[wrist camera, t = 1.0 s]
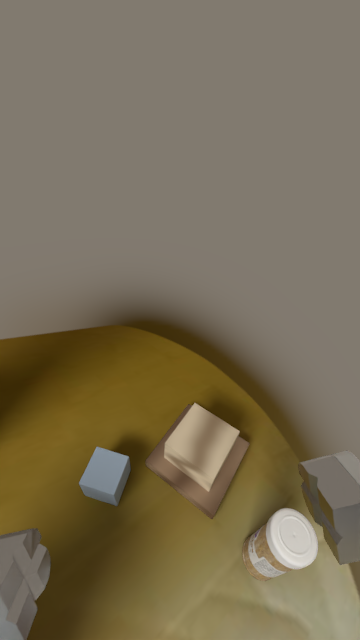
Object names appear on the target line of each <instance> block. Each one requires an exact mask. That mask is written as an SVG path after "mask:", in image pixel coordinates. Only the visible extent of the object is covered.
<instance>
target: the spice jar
mask: <svg viewBox="0 0 360 640" xmlns="http://www.w3.org/2000/svg"><path fill="white" fill-rule="evenodd" d="M317 551H318V541H317V537H316V533H315V531H314V529H313V527H312V525H311V523H310V522H309V521H308V520H307V518H306V517H305V516H304V515H302V514H301V513H300V512H298V511H296V510H294V509H290V508H283V509H280V510H278V511H277V512H275V513H274V514H273V515H272V516H271V517H270V518H269V520H268V522H267V523H266V524H265V525H263V526H262V527H261V528H260V529H259V530H257V531H256V532H255V533H254V534H253V535H251V536H249V537H248V538H247V539H246V541H245V542H244V545H243V550H242V555H243V561H244V564H245V566H246V568H247V570H248V571H249V573H250V574H251V575H252V576H253V577H255V578H256V579H258V580H262V581H266V580H269V579H271V578H272V577H276V576H278V575H281V574H283V573H286V572H289V571H291V570H293V569H301V568H304V567H306V566H308V565H310V564H311V563H312V562H313V561H314V560H315V558H316V555H317Z"/></svg>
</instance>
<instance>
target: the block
mask: <svg viewBox="0 0 360 640" xmlns="http://www.w3.org/2000/svg"><path fill="white" fill-rule="evenodd" d="M130 471H131V467H130V460H129V456H126V455H122V454H119V453H116V452H113V451H109V450H106V449H103V448H99V447H96V449H95V452H94V454H93V456H92V458H91V460H90V462H89V464H88V466H87V468H86V470H85V472H84V474H83V476H82V478H81V480H80V482H79V485H80V487H81V489H82V491H83V493H84V494H85V496H88V497H91V498H94V499H97V500H100V501H103V502H106V503H109V504H112V505H115V506H118V503H119V500H120V498H121V495H122V492H123V490H124V487H125V484H126V482H127V479H128V476H129V473H130Z"/></svg>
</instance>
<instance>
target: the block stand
mask: <svg viewBox="0 0 360 640" xmlns="http://www.w3.org/2000/svg"><path fill="white" fill-rule="evenodd" d="M239 432H240V431H238V430H237V429H235V428H234V427H232V426H231V425H229V424H227V423H226V422H224V421H223V420H221V419H220V418H218V417H216V416H215V415H213V414H212V413H210V412H209V411H207V410H205V409H204V408H202V407H201V406H199V405H198V404H196V403H194V405H193V406H191V405H189V404H188V405H187V407H186V408H185V409H184V411H183V412H182V413H181V415H180V416H179V417H178V419H177V420H176V421H175V423H174V424H173V425H172V426H171V428H170V429H169V430H168V432H167V433H166V434H165V436H164V437H163V438H162V440H161V441H160V442H159V444H158V445H157V446H156V448H155V449H154V450H153V451H152V453H151V454H150V455H149V457H148V458H147V459H146V466H147V467H148V468H149V469H151V470H152V471H153V472H154V473H156V474H157V475H158V476H159V477H160V478H162V479H163V480H164V481H165V482H167V483H168V484H169V485H170V486H172V487H173V488H174V489H175V490H176V491H178V492H179V493H180V494H181V495H183V496H184V497H185V498H186V499H188V500H189V501H190V502H191V503H192V504H194V505H195V506H196V507H197V508H199V509H200V510H201V511H202V512H204V513H205V514H206V515H207V516H208V517H210V518H211V519H213V517H214V515H215V513H216V511H217V509H218V507H219V505H220V503H221V501H222V499H223V497H224V495H225V493H226V491H227V489H228V487H229V485H230V483H231V480H232V478H233V476H234V474H235V472H236V470H237V468H238V466H239V464H240V462H241V460H242V458H243V456H244V454H245V452H246V450H247V448H248V446H249V444H250V443H248V442H247V441H245V440H244V439H242V438H241V437H239V436H238V435H239Z"/></svg>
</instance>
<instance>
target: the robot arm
mask: <svg viewBox="0 0 360 640" xmlns="http://www.w3.org/2000/svg"><path fill="white" fill-rule="evenodd" d="M298 468H299V474H300V475H301V477H302V479H303V480H304V481H303V483H302V485H301V487H302V492H303V496H304V499H305V502H306V505H307V507H308V509H309V512H310V514H311V515H312V517H313V519H314V521H315V522H316V523H317V524H319V525H320V526H322V527H323V532H324V539H325V540H326V542H327V544H328V545H329V547H330V549H331V551H332V552H333V554H334V556H335V558H336V559H337V561H338V563H339V564H340V565H342V564H347V563H351V562H356V561H360V461H359V460H358V459H357V458H356V457H355V456H354V454H353V453H351V452H350V451H348V450H346V451H343V452H339V453H335V454H331V455H327V456H323V457H319V458H316V459H312V460H308V461H304V462H300V463H299V465H298ZM40 540H41V535H40V533H39V531H38V529H28V530H23V531H19V532H14V533H10V534H5V535H1V536H0V640H26V639H27V637H28V634H29V631H30V628H31V626H32V623H33V620H34V618H35V615H36V612H37V609H38V608H37V603H36V599H37V598H38V597H39V595H40V594H41V593H42V592H43V591H44V589H45V587H46V584H47V581H48V578H49V574H50V566H51V561H50V554H49V552H48V550H47V548H46V547H44V546H43V545H41V544H39V543H40Z"/></svg>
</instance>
